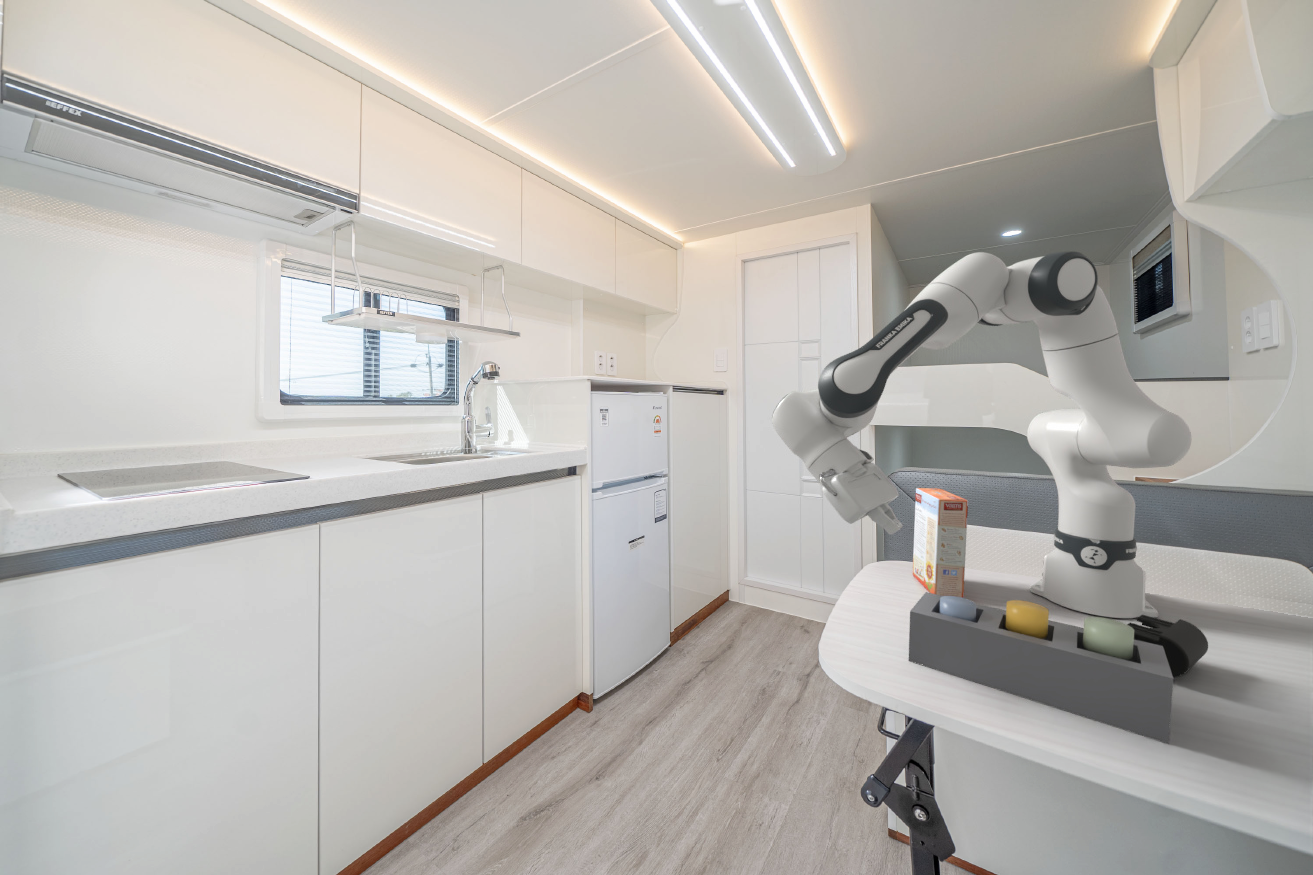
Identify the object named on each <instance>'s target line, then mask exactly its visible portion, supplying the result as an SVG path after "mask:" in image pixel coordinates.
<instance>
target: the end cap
mask: <svg viewBox="0 0 1313 875" xmlns="http://www.w3.org/2000/svg"><path fill="white" fill-rule="evenodd" d="M1136 622H1139V623H1141V624H1136V623H1133V622H1128V623H1127V625H1129V626H1130V627H1132V628H1133V629H1134V640H1138V641H1143V642H1147V643H1152V644H1156V645H1160V646H1163V648H1164V651H1165V654H1166V657H1167V660H1168V663H1169V666H1170V670H1171V673H1172V676H1173V678H1178V677H1181V676H1183V675H1185V674H1186V673H1187V672H1188V671H1190V669H1192V667H1193V666H1194V665H1195V664H1196V663H1197V662H1198V661H1200V659H1201V658H1203V657H1204V656H1205V655H1206V654H1207V652H1208V649H1209V642H1208V639H1207V637H1206V635H1205V634H1204V632H1203V631H1201V629H1200V628H1199V627H1197V626H1196V625H1194V624H1192V623H1191V622H1189V621H1187V620H1184V619H1178V620H1177V621H1176V622H1171V621H1168V620H1164V619H1160V618H1158V617H1149V616H1146V615H1141V616H1139V617H1136Z"/></svg>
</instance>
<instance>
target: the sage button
mask: <svg viewBox="0 0 1313 875" xmlns="http://www.w3.org/2000/svg"><path fill="white" fill-rule="evenodd" d="M1127 624H1128V623H1127ZM1127 624H1126V623H1124V622H1121V621H1118V620H1115V619H1112V618H1109V617H1103V616H1087V617H1084V619H1083V628H1084V632H1083V646H1084V647H1085V648H1086V649H1087V650H1089V651H1091V652H1095V653H1099V654H1103V655H1107V656H1111V657H1115V658H1119V659H1123V660H1130V659H1132V658H1133V643H1134V629H1133V628H1132V627H1130V626H1129V625H1127Z"/></svg>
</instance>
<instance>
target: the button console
mask: <svg viewBox="0 0 1313 875" xmlns="http://www.w3.org/2000/svg"><path fill="white" fill-rule="evenodd" d="M941 597H943V596H941V595H937V594H932V593H930V592H929V591H928V592H927V591H926V592H924V593H923V594H922V596H921V598H919V600H918V601H917V602H915V604H914V605H913V607H912V608H911V609H910V610H909V632H908V633H909V638H908V662H911V661H913V662H912V663H914V662H916V663H915V664H917V663H919V664H918V665H920V664H923V665H925V666H924V667H926V666H928V667H927V668H930V667H931V668H930V669H933V670H936V669H937V670H936V671H940V672H942V671H943V673H945V672H946V674H949V675H951V676H955V677H959V678H962V679H965V680H967V681H971V682H974V683H977V684H979V685H984V686H987V687H989V688H992V689H995V690H998V691H1002V692H1006V693H1009V694H1012V695H1015V696H1017V697H1021V698H1024V699H1027V700H1030V701H1033V702H1037V703H1039V704H1043V705H1046V706H1049V707H1053V708H1056V709H1059V710H1061V711H1064V712H1068V713H1071V714H1074V715H1076V716H1077V715H1078V716H1080V717H1084V718H1087V719H1090V720H1093V721H1097V722H1100V723H1103V724H1105V725H1108V726H1112V727H1115V728H1118V729H1121V730H1125V731H1128V732H1130V733H1133V734H1136V735H1140V736H1142V737H1143V736H1144V737H1145V738H1149V739H1153V740H1155V741H1159V742H1162V743H1164V744H1168V745H1169V744H1170V731H1171V718H1172V717H1171V715H1172V707H1173V706H1172V703H1173V691H1174V689H1173V688H1174V677H1173V676H1172V673H1171V670H1170V666H1169V663H1168V660H1167V657H1166V654H1165V651H1164V648H1163V646H1160V645H1156V644H1152V643H1147V642H1143V641H1138V640H1134V643H1133V658H1132V659H1130V660H1123V659H1119V658H1115V657H1111V656H1107V655H1103V654H1099V653H1095V652H1091V651H1089V650H1087V649H1086V648H1085V647H1084V646H1083V632H1084V627H1082V626H1081V627H1080V626H1076V625H1073V624H1069V623H1063V622H1058V621H1055V620H1049V619H1048V636H1047V637H1046V638H1043V639H1039V638H1035V637H1031V636H1027V635H1023V634H1019V633H1015V632H1011V631H1009V630H1008V629H1007V628H1006V609H1002V608H996V607H992V606H989V605H984V604H980V603H975V602H974V603H975V604H976V623H975V622H971V621H967V620H963V619H959V618H955V617H951V616H947V615H943V614H939V613H940V598H941ZM923 665H922V666H923Z"/></svg>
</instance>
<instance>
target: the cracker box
mask: <svg viewBox="0 0 1313 875" xmlns="http://www.w3.org/2000/svg"><path fill="white" fill-rule="evenodd" d="M914 506H915V507H914V526H913V527H914V529H913V530H914V531H913V532H914V534H913V555H912V556H913V557H912V576H913V577H914V578H915V579H916V580H917V581H918V582H919V584H921V585H922V587H923V588H925V590H926V591H928V593H932V594H937V595H941V596H957V597H962V598H964V594H965V591H964V590H965V570H966V553H967V552H966V551H967V550H966V549H967V530H968V515H969V514H968V511H969V510H968V509H969V500H967V499H966V498H963V497H961V496H959V495H956V494H953V493H951V492H950V491H947V490H945V489H942V488H935V487H927V488H926V487H916V488H915V505H914Z"/></svg>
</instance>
